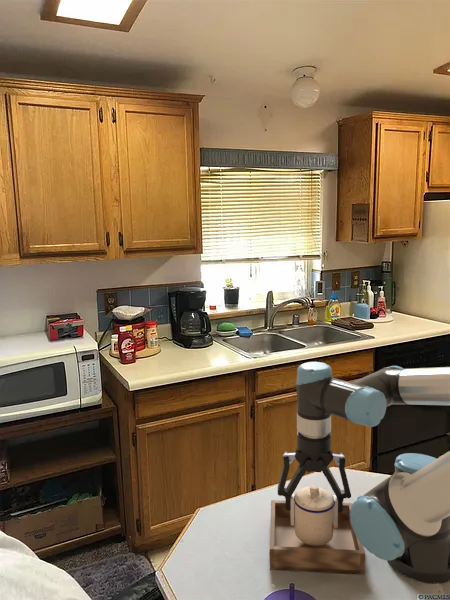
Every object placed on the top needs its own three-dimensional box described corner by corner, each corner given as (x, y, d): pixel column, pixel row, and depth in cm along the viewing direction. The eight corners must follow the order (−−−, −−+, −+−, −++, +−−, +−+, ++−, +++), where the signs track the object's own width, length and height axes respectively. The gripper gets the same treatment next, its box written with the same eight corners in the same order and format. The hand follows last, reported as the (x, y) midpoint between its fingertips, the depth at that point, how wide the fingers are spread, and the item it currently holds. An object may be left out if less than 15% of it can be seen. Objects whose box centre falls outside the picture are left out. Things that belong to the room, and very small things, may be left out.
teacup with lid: (342, 541, 105) (342, 493, 103) (305, 551, 102) (305, 502, 100) (315, 510, 116) (315, 467, 114) (281, 519, 113) (281, 474, 111)
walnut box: (352, 521, 117) (352, 503, 116) (364, 574, 99) (365, 553, 99) (271, 518, 119) (271, 500, 119) (270, 569, 102) (269, 549, 101)
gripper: (361, 425, 107) (359, 514, 111) (265, 423, 110) (266, 510, 114) (367, 440, 100) (364, 535, 104) (264, 437, 102) (265, 531, 106)
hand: (313, 522), depth 109 cm, fingers closed on teacup with lid, 9 cm apart
